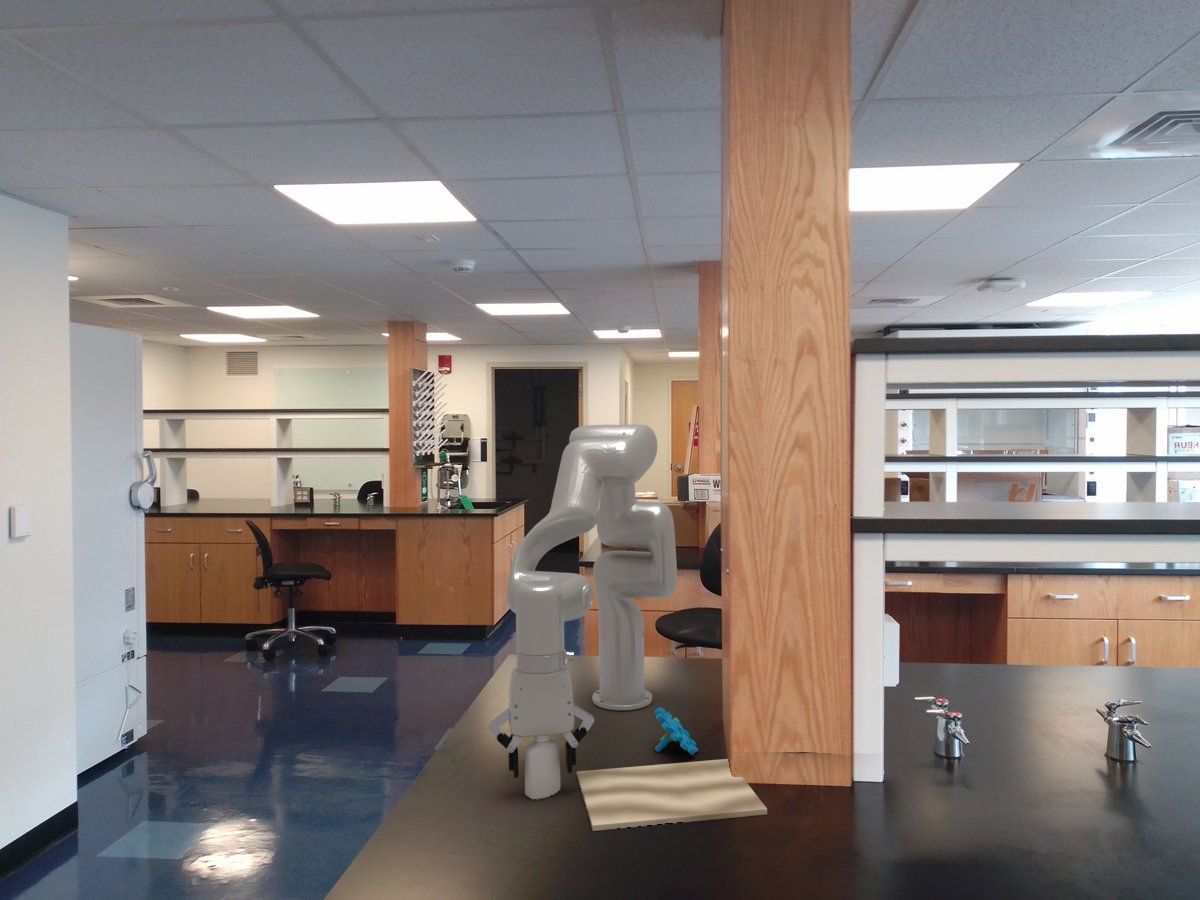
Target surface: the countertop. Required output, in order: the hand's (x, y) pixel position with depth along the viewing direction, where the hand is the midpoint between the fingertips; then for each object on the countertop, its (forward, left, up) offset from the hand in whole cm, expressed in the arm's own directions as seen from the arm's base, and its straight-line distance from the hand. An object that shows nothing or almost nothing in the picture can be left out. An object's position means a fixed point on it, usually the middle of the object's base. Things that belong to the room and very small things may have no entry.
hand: (542, 771), depth 123 cm
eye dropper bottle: (0, 0, -4) cm, 4 cm away
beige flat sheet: (+4, +19, -4) cm, 20 cm away
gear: (-12, +25, -4) cm, 28 cm away
